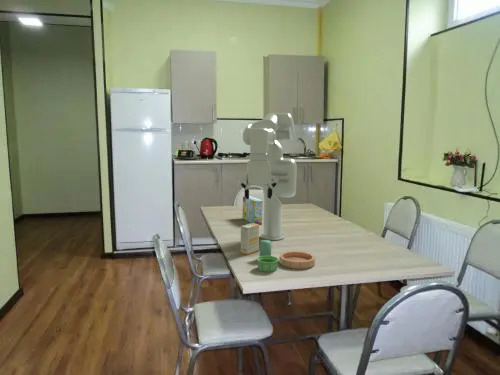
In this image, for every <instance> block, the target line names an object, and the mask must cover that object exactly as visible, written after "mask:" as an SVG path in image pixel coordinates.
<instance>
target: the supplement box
mask: <svg viewBox="0 0 500 375" xmlns="http://www.w3.org/2000/svg"><path fill="white" fill-rule="evenodd" d="M259 237H260V225H259V224H254V223H250V222H249V223H246V224H244V225H240V253H241V254H243V255H247V256H248V255H251V254H254V253H257V252H260V238H259Z"/></svg>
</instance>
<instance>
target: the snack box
mask: <svg viewBox="0 0 500 375" xmlns="http://www.w3.org/2000/svg"><path fill="white" fill-rule="evenodd" d="M263 205H264V200H262V199H260V198H258V197H254V196H252V195H249V199H246V197H245V195H243V196H242V219H244V220H245V221H246V222H248V223H249V224H250V223H254V224H259V226H261V225H262V224H263V222H262V221H263Z"/></svg>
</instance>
